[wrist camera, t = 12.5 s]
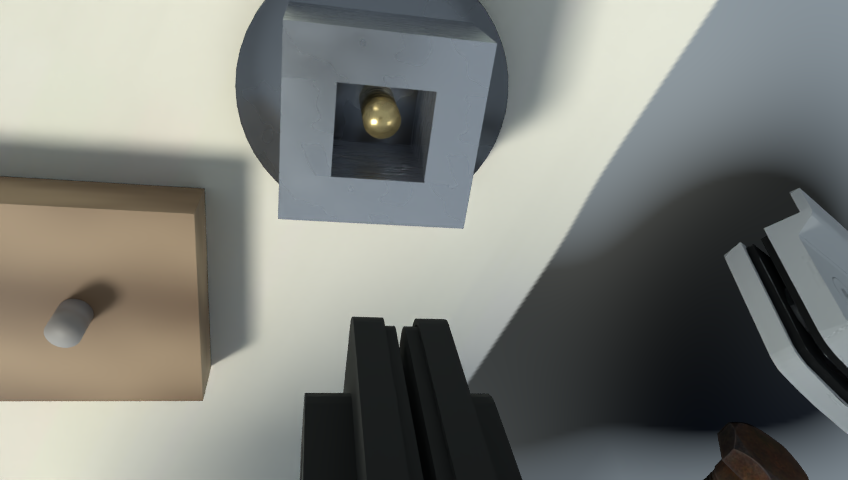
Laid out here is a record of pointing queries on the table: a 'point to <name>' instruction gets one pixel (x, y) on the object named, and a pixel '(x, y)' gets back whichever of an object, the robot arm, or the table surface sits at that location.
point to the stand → (102, 292)
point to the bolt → (753, 456)
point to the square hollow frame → (368, 161)
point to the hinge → (802, 302)
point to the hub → (355, 104)
